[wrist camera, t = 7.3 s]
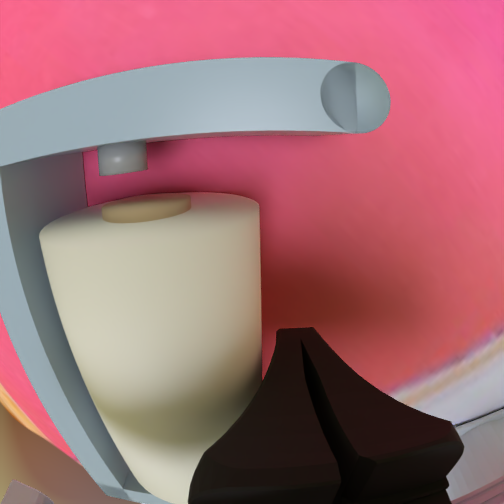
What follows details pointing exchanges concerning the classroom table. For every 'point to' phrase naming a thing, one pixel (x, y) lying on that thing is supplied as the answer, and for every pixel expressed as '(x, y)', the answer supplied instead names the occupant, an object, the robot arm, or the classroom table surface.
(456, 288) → the classroom table surface
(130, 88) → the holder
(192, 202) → the cylinder
